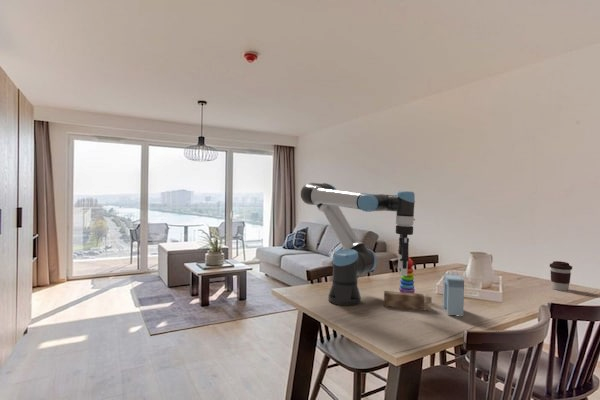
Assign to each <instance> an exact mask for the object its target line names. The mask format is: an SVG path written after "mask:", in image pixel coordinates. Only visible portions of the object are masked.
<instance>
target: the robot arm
mask: <svg viewBox="0 0 600 400" xmlns="http://www.w3.org/2000/svg"><path fill="white" fill-rule="evenodd" d="M300 198H301V200H302V201H303V202H304V203H305V204H306V205H313V206H315V205H316V207H317V209H318V210H319V212H321V213H323V214H324V215H325V218H326V219H327V221H328V223H329V224H330V226H331V228H332V230H333V232H334V233H335V234H336V237H337V238H338V239H337V240H338V241H339V242H340V244H341V247H342V248H343V249H339V250H336V251H334V253H333V255H332V282H331V283H332V285H331V286H330V289H329V292H328V297H327V300H328V302H330V303H331V302H332V304H333V305H337V304H339V305H338V306H346V305H349V306H355V305H354V304H357V305H359V304H360V303H361V302H362V297H361V292H360V290H359V286H358V276H361V275H366V274H369V273H370V272H373V271H374V269H375V268H376V266H377V263H378V258H377V255H376V253H375V251H373V250H371V249H369V248H367V246H366V244H365V243H364V242H362V241H360V240H359V238H358V237H357V235H356V233H355V231H354V230H353V228H352V227H351V225H350V222H348V220H347V218H346V217H345V214H344V213H343V211H342V210H341V208H340V207H342V208H347V209H354V210H355V209H356V210H360V211H363V212H367V213H371V212H396V219H395V224H396V225H395V234H396V235H399V238H398V251H397V252H398V258H397V259H398V262H397V269H399V270H400V276H407V269H408V260H409V242H410V238H409V237H408V236H412V235H413V234H414V221H416V218H414V215H415V203H416V201H415V199H416V198H415V192H414V191H405V190H398V191H397V194H395V195H394V194H384V193H382V194H371V193H366V192H365V193H362V192H355V191H354V192H353V191H349V190H348V191H347V190H339V189H337V188H336V187H335V186H334V185H332V184H330V183H326V182H324V183H317V182H308V183H306V184H305V185H303V187H302V188H301V190H300ZM358 303H359V304H358Z"/></svg>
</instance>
